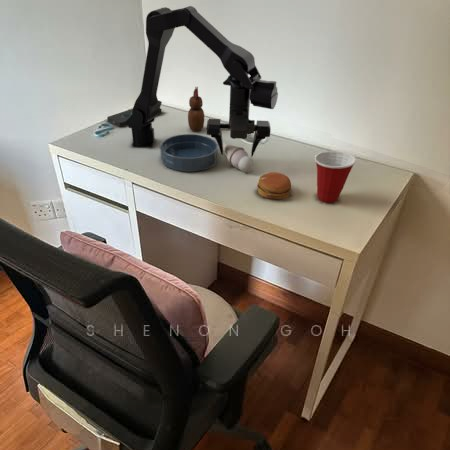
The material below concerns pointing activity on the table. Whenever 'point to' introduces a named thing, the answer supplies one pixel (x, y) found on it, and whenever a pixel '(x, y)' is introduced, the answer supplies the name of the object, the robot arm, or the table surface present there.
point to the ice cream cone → (238, 157)
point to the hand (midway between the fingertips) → (237, 155)
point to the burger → (274, 185)
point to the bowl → (189, 152)
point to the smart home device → (121, 118)
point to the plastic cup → (332, 174)
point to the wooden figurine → (196, 112)
